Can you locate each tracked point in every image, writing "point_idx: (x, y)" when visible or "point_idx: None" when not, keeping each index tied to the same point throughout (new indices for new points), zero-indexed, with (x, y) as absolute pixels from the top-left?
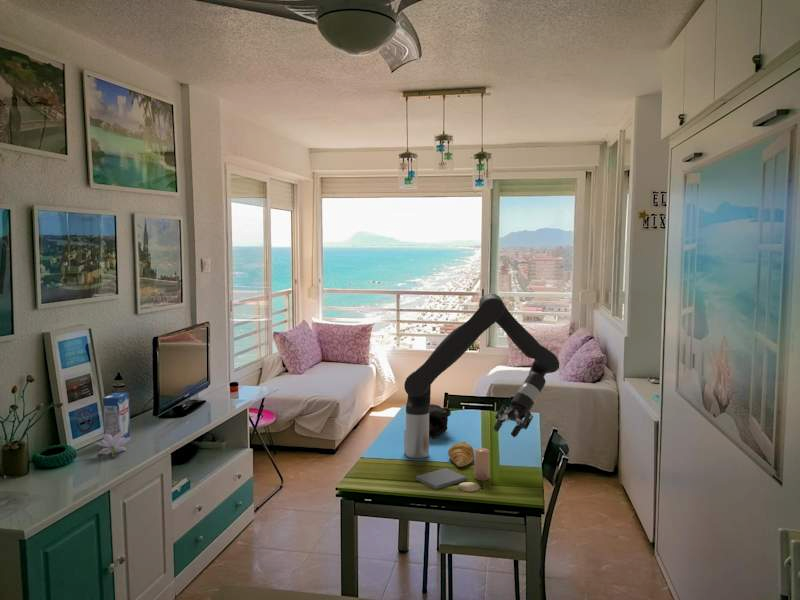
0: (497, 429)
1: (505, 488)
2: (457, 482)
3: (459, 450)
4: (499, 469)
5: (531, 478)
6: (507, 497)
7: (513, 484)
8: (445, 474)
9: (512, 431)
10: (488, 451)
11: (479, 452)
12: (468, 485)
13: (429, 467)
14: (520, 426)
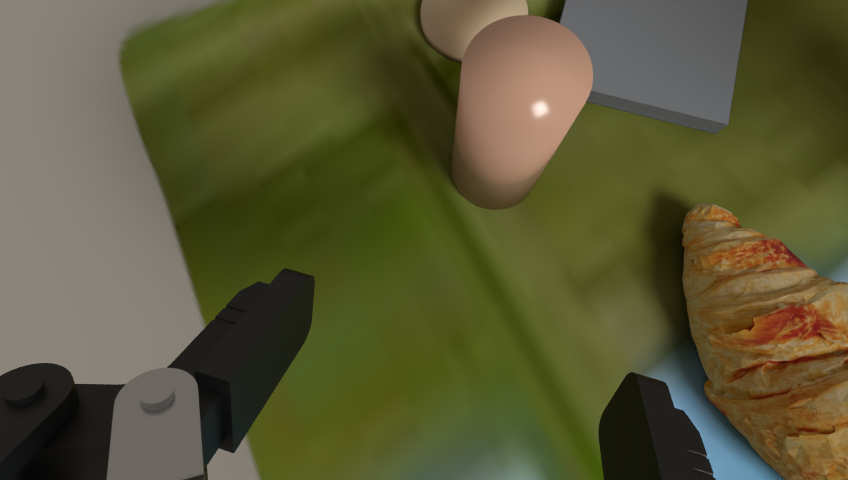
0: (612, 427)
1: (314, 114)
2: None
3: (829, 300)
4: (480, 365)
5: None
6: (261, 25)
7: (300, 187)
8: (658, 42)
9: (286, 290)
10: (465, 75)
11: (514, 16)
12: (479, 14)
13: (830, 130)
14: (125, 384)
